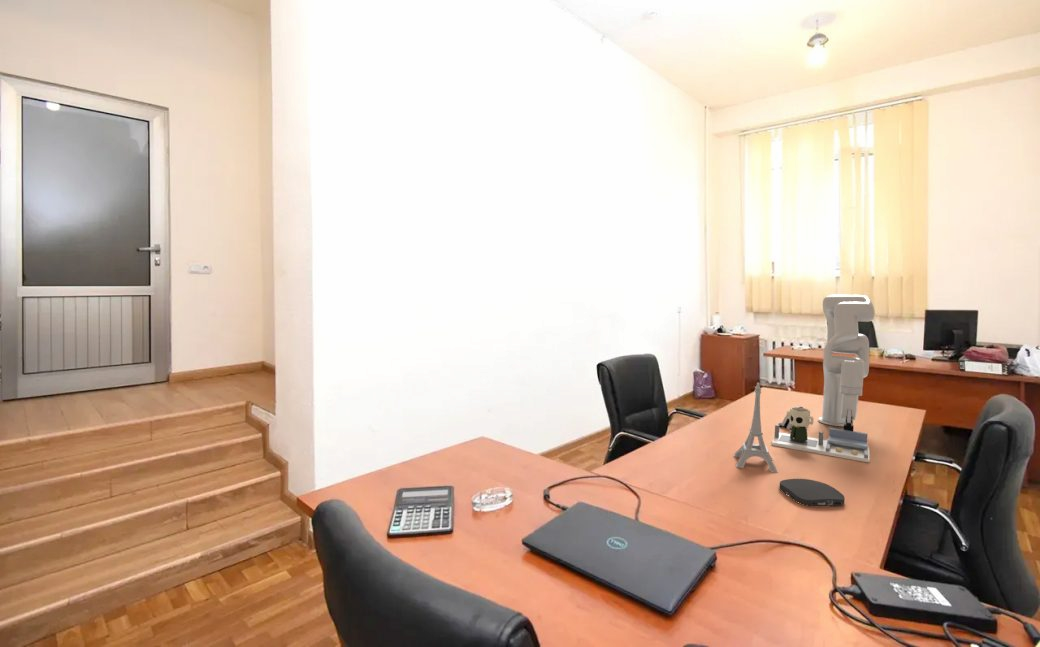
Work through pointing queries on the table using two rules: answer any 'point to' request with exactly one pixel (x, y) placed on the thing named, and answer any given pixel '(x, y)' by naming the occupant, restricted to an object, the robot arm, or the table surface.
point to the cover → (848, 438)
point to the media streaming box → (812, 492)
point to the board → (820, 446)
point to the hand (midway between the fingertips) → (848, 434)
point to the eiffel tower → (755, 431)
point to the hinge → (787, 421)
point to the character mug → (799, 423)
